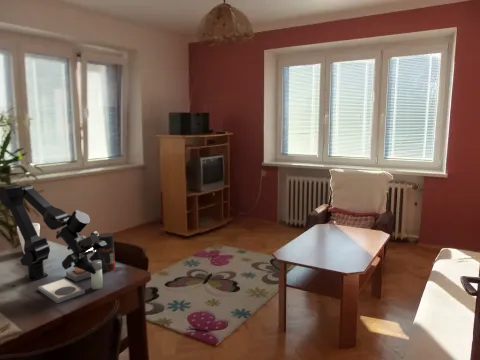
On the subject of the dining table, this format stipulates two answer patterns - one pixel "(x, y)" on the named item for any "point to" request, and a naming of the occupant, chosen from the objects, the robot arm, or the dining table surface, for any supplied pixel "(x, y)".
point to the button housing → (75, 277)
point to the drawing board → (61, 290)
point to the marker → (97, 274)
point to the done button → (79, 270)
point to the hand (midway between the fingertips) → (99, 271)
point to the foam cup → (37, 228)
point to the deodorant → (108, 252)
